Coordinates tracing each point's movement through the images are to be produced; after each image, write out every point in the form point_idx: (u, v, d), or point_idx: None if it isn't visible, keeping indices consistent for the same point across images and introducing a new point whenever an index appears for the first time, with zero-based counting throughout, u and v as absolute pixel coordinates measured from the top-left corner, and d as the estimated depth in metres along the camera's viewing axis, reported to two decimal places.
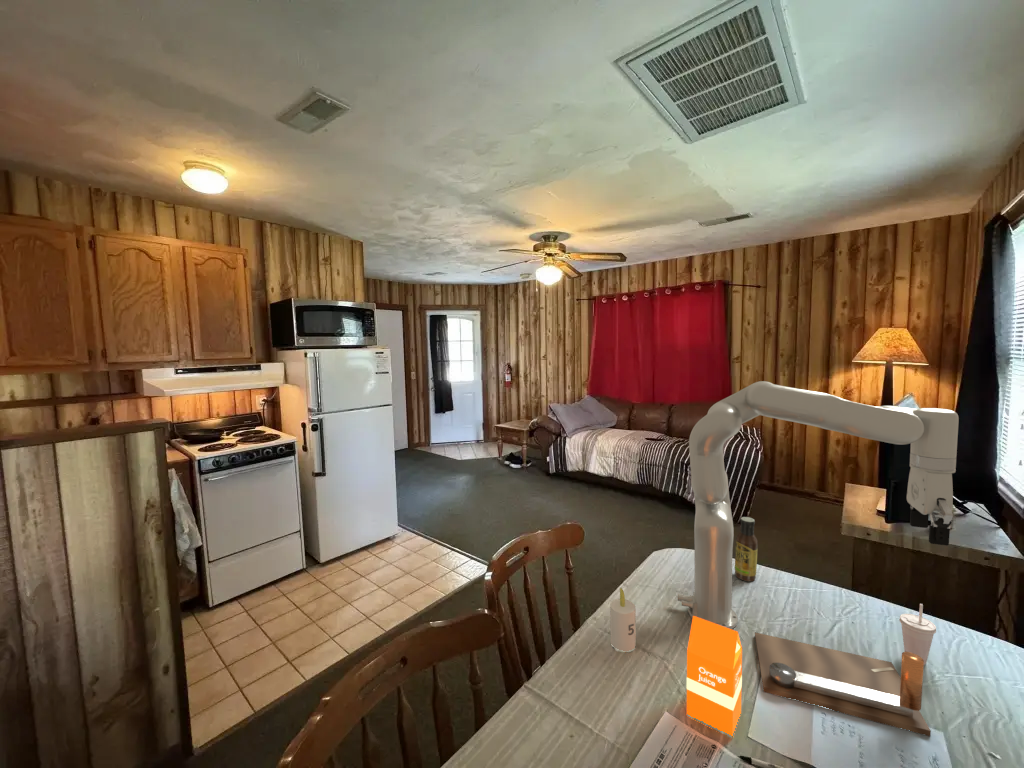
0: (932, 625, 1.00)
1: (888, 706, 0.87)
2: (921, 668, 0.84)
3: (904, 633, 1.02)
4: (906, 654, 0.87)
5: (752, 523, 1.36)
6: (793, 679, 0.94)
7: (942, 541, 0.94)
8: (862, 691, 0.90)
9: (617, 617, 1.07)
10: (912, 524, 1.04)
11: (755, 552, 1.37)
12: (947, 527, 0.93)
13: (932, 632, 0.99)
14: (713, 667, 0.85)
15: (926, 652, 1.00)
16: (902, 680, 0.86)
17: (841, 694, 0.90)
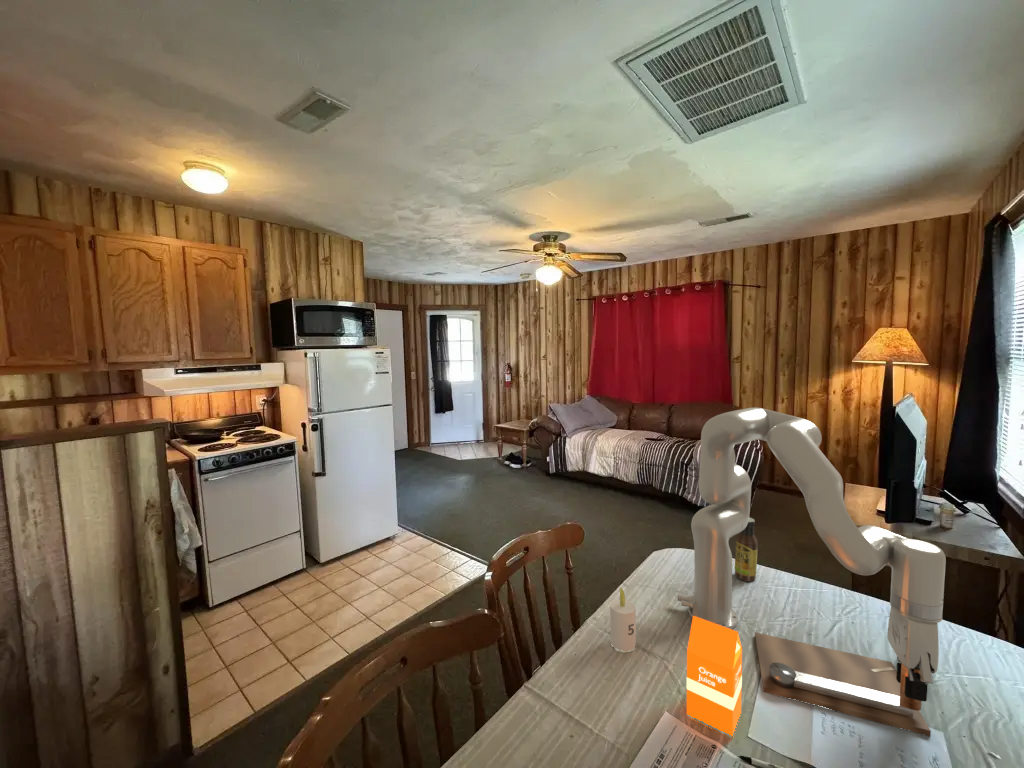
0: None
1: (888, 706, 0.87)
2: None
3: None
4: None
5: (752, 523, 1.36)
6: (793, 679, 0.94)
7: (919, 697, 0.84)
8: (862, 691, 0.90)
9: (618, 617, 1.07)
10: (899, 680, 0.88)
11: (755, 552, 1.37)
12: (924, 683, 0.83)
13: None
14: (713, 667, 0.85)
15: None
16: (902, 680, 0.86)
17: (841, 694, 0.90)
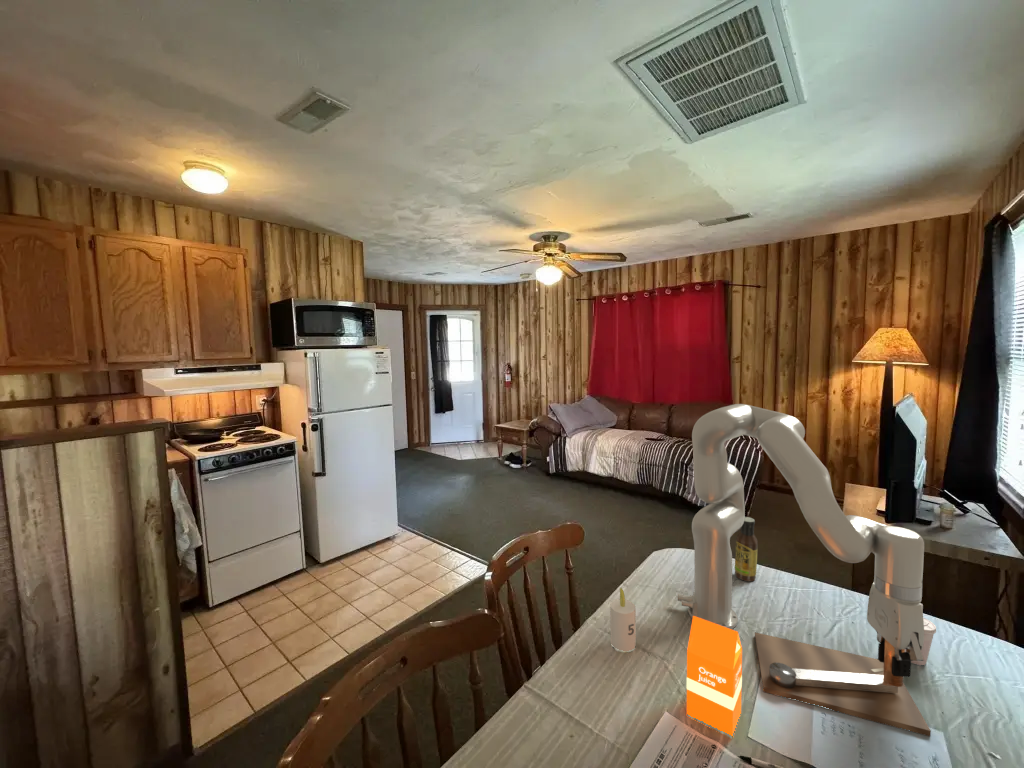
0: (932, 625, 1.00)
1: (877, 687, 0.92)
2: None
3: None
4: None
5: (752, 523, 1.36)
6: (795, 678, 0.94)
7: (905, 674, 0.89)
8: (853, 676, 0.94)
9: (618, 617, 1.07)
10: (881, 660, 0.94)
11: (755, 552, 1.37)
12: (910, 660, 0.88)
13: (932, 632, 0.99)
14: (713, 667, 0.85)
15: (926, 652, 1.00)
16: (887, 660, 0.92)
17: (837, 684, 0.93)
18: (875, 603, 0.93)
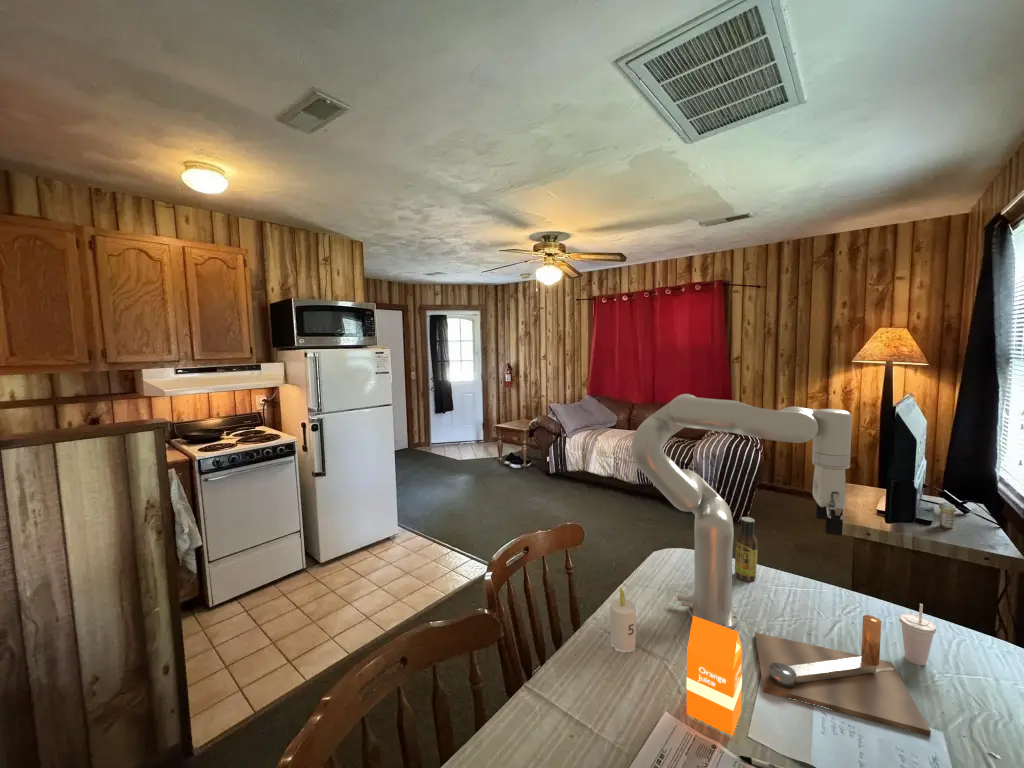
0: (932, 625, 1.00)
1: (861, 670, 0.97)
2: (880, 627, 0.97)
3: (904, 633, 1.02)
4: (866, 618, 0.98)
5: (752, 523, 1.36)
6: (795, 676, 0.94)
7: (836, 531, 1.02)
8: (839, 663, 0.98)
9: (617, 617, 1.07)
10: (817, 516, 1.12)
11: (755, 552, 1.37)
12: (839, 518, 1.01)
13: (932, 632, 0.99)
14: (713, 667, 0.85)
15: (926, 652, 1.00)
16: (866, 642, 0.98)
17: (830, 674, 0.96)
18: (814, 475, 1.09)
